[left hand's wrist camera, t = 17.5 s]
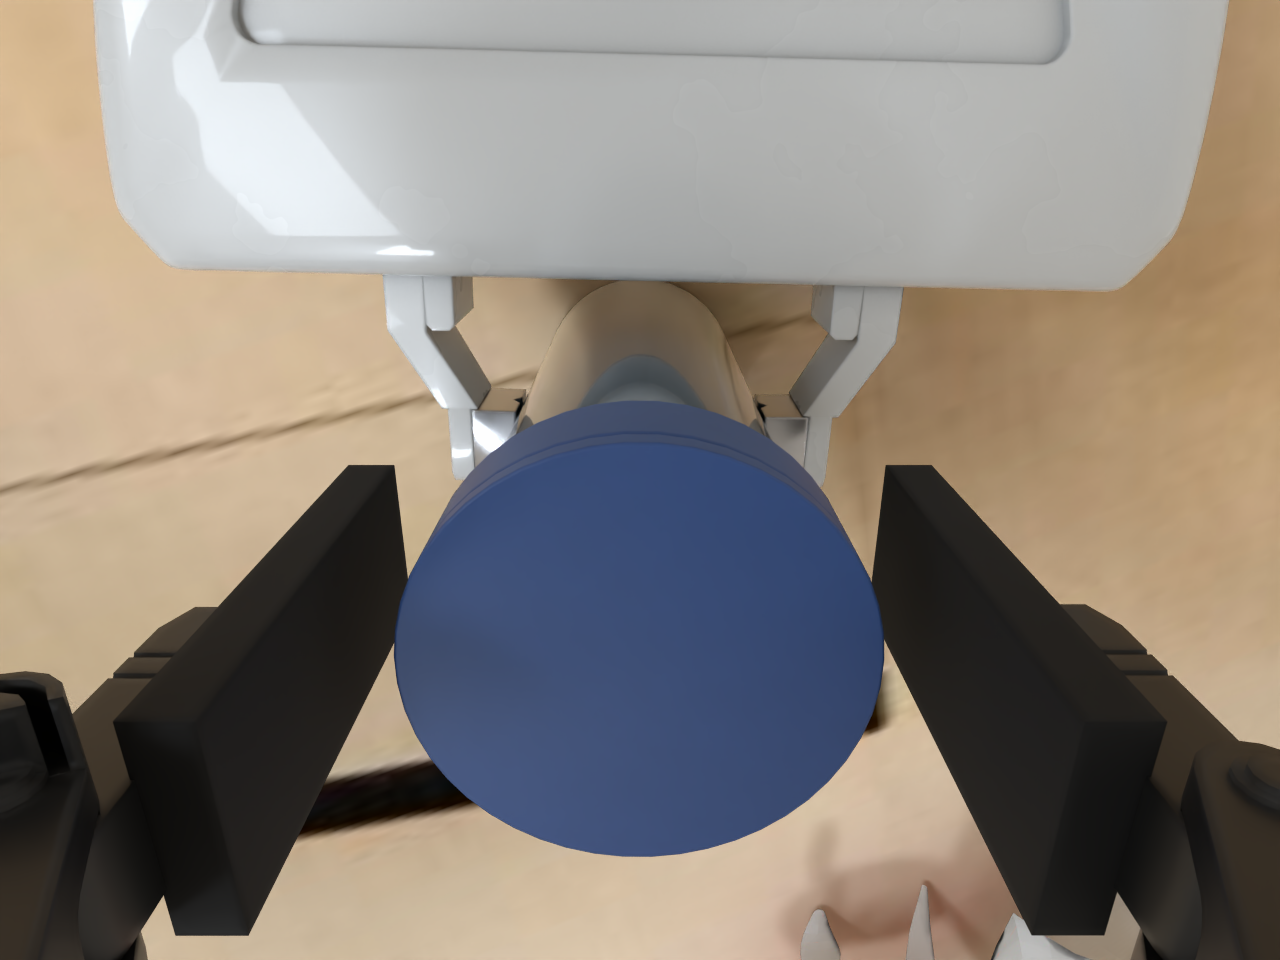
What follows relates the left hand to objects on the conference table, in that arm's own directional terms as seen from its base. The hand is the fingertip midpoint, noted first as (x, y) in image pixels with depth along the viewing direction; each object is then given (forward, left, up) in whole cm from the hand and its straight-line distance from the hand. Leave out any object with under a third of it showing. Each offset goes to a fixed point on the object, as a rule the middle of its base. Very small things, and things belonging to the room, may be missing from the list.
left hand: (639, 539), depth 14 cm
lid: (0, 0, +4) cm, 4 cm away
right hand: (-1, 0, -5) cm, 5 cm away
